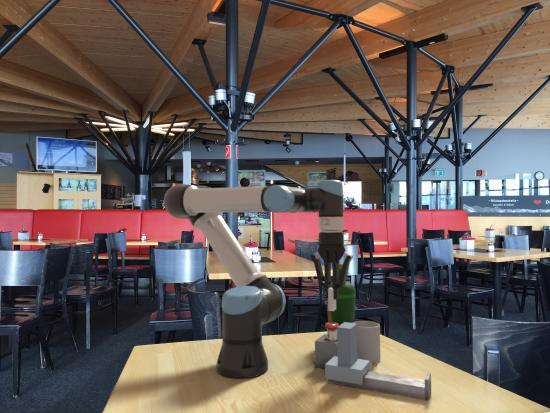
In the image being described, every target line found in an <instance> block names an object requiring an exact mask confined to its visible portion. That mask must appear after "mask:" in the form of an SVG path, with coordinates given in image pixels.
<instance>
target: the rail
mask: <svg viewBox="0 0 550 413" xmlns="http://www.w3.org/2000/svg"><path fill="white" fill-rule="evenodd" d="M326 382H327V383H329V384H334V385H340V386H346V387H351V388H356V389H362V390H368V391H373V392H379V393H383V394H384V393H385V394H390V395H395V396H400V397H401V396H402V397H406V398H412V399H416V400H417V399H418V400H422V401H423V400H424V401H430V398H431V395H432V373H431V372H427V373H426V375H425V378H424V379H421V378H414V377H408V376H404V375H403V376H402V375H397V374H390V373H383V372H377V371H371V370H370V371H367V372H366V374H365V375H364V376H363V384H362V385H359V384H354V383H348V382H342V381H337V380H331V379H326Z"/></svg>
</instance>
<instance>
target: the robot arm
mask: <svg viewBox="0 0 550 413" xmlns="http://www.w3.org/2000/svg"><path fill="white" fill-rule="evenodd" d="M163 204H164V205H163V206H164V209H165V210H166V212H167V214H169V215H171V216H172V217H173V218H176V219H180V220H181V219H182V220H188V221H189V222H190V224H191V225H192V226H193V229H195V230H199V231H201V233H202V235H203V236H204V237H205V239H206V241H207V242H208V244H209V246H210V247H211V249H212V250H213V252H214V253H215V255H216V256H217V258H218V259H219V261H220V263H221V264H222V266H223V268H224V269H225V270H226V272H227V274H228V276H229V277H230V279H231V281H232V282H233V284H234V285H235V287H233V288H232V287H231V288H229V289H227V290H226V291H225V292H224V293H223V295H222V302H221V310H222V312H221V314H222V316H221V317H222V318H221V319H222V320H221V321H222V325H221V327H222V329H221V330H222V333H221V334H222V342H221V343H222V344H221V348H220V350H219V354H218V357H217V360H216V372H217V373H218V374H219V375H220V376H221V375H222V376H223V377H227V378H233V379H246V378H247V379H248V378H253V377H257V376H260V375H263V374H265V373H266V372H267V371H268V369H269V361H268V357H267V354H266V351H265V348H264V345H263V331H262V330H263V328H262V327H263V326H264V325H266V324H268V323H270V322H273V321H275V320H276V319H278V318H279V317H280V316H281V315H282V314H283V313H284V311H285V308H286V303H287V301H286V296H285V293H284V291H283V289H282V288H281V287H280V286H279V285H277V284H275V283H272V282H271V281H270V279H269V277H267V275H266V274H264V273H260V272H259V271H258V270H257V267H255V265H254V264H253V262H252V260H251V258H250V257H249V256H248V254H247V253H246V251H245V249H244V248H243V247H242V245H241V244H240V242H239V240H238V239H237V238H236V236H235V235H234V233H233V231H232V230H231V229H230V227H229V225H228V224H227V223H226V221H225V220H224V218H223V214H224V213H291V214H292V213H293V214H295V213H318V231H319V233H318V248H317V251H316V252H314V253H313V254H311V255H310V258H311V260H312V261H313V265H314V268H315V272H316V277H317V281H318V285H319V286H320V287H323V288H324V292H325V293H324V296H325V297H324V298H325V299H326V300H327V299H328V311H334V310H336V300H337V299H338V298H339V288H340V287H343V286H344V285H345V282H346V281H347V279H348V278H347V277H348V274H349V269H350V264H351V261H352V260H353V258H354V255H353V254H350V253H348V252H346V248H345V233H344V232H343V231H344V230H345V228H344V223H345V221H344V188H343V182H342V181H341V180H338V179H324V180H319V181H318V182H317V187H315V186H314V187H295V186H294V187H293V186H286V185H283V184H275V185H272V186H271V185H270V186H264V185H263V186H237V187H235V186H234V187H213V188H212V187H209V186H206V185H201V184H200V185H196V184H195V185H194V184H187V183H179V184H175V185H173V186H171V187H170V188H169V189H167V191H166V192H165V194H164V199H163ZM320 258H321V259H322V261H323V266H324V268H323V266H322V262H321V259H320ZM342 258H343V262H342V263H343V267H342V271H341V276H340V280H339V263H340V261H341V260H342ZM323 270H324V271H323ZM347 273H348V274H347ZM332 282H333V287H332V288H331V286H332V285H331V283H332Z"/></svg>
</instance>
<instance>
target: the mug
mask: <svg viewBox="0 0 550 413" xmlns="http://www.w3.org/2000/svg"><path fill="white" fill-rule="evenodd" d="M354 323H357V359H362V360H369V361H370V365H374V364H377V363H379V362H380V361H381V325H380V323H378V322H376V321H370V320H359V321H355V322H354Z"/></svg>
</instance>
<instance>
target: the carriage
mask: <svg viewBox="0 0 550 413" xmlns="http://www.w3.org/2000/svg"><path fill="white" fill-rule="evenodd" d="M337 340H338V356H334V357H333V358H332V359H331V360H329V361H328V362H327V363H326V364H325V370H324V372H325V373H324V374H325V379H326V380H327V379H331V380H337V381H342V382H348V383H354V384H359V385H362V384H363V376H364V375H365V374H366V372H367V371H371V364H370V361H369V360H362V359H357V323H348V322H344V323H343V324H341V325H340V326H338V327H337Z"/></svg>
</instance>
